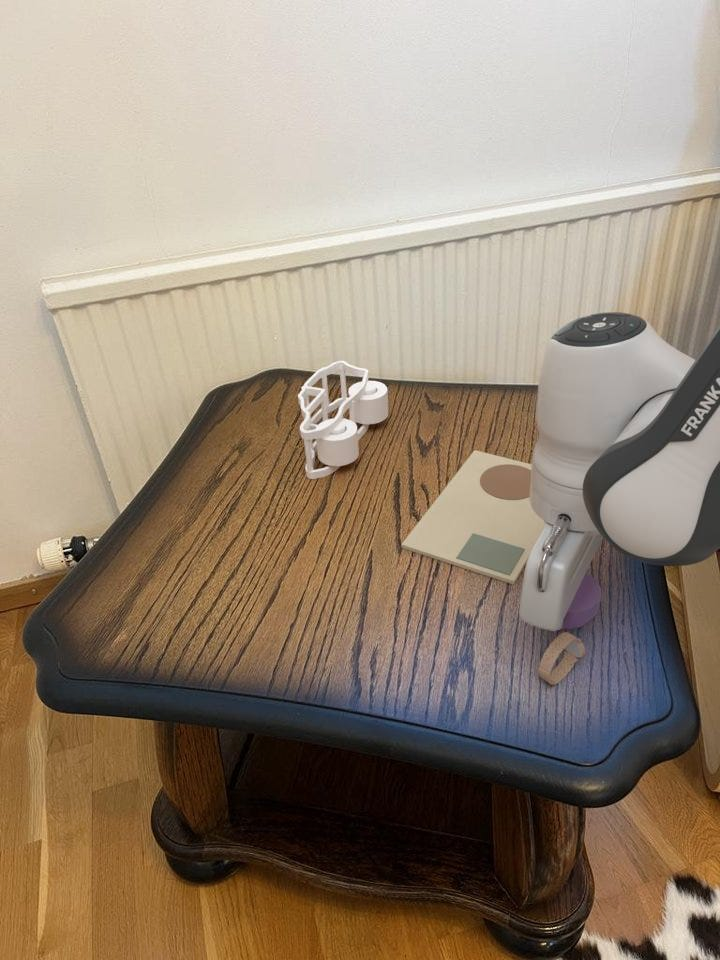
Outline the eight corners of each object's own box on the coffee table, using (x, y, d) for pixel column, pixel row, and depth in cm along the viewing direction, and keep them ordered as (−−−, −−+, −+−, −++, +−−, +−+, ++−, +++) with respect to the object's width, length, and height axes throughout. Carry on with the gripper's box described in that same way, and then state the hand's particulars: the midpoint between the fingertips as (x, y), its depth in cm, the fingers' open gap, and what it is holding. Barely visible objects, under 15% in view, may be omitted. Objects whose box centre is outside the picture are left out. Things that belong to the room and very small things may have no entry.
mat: (574, 478, 99) (575, 474, 98) (514, 585, 83) (514, 580, 83) (474, 453, 105) (474, 448, 104) (401, 548, 90) (401, 543, 89)
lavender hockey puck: (605, 599, 78) (609, 578, 77) (587, 641, 74) (590, 620, 72) (545, 581, 81) (547, 560, 79) (524, 620, 77) (526, 599, 75)
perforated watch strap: (582, 669, 74) (588, 634, 71) (552, 698, 71) (557, 662, 68) (559, 654, 75) (564, 619, 72) (529, 682, 73) (533, 646, 70)
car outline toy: (345, 486, 100) (341, 439, 96) (271, 470, 104) (264, 425, 100) (398, 411, 115) (397, 368, 110) (332, 400, 119) (328, 358, 114)
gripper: (580, 567, 60) (565, 682, 68) (642, 439, 74) (624, 547, 82) (504, 545, 63) (499, 658, 71) (578, 426, 77) (567, 531, 85)
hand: (566, 597), depth 77 cm, fingers closed on lavender hockey puck, 6 cm apart
